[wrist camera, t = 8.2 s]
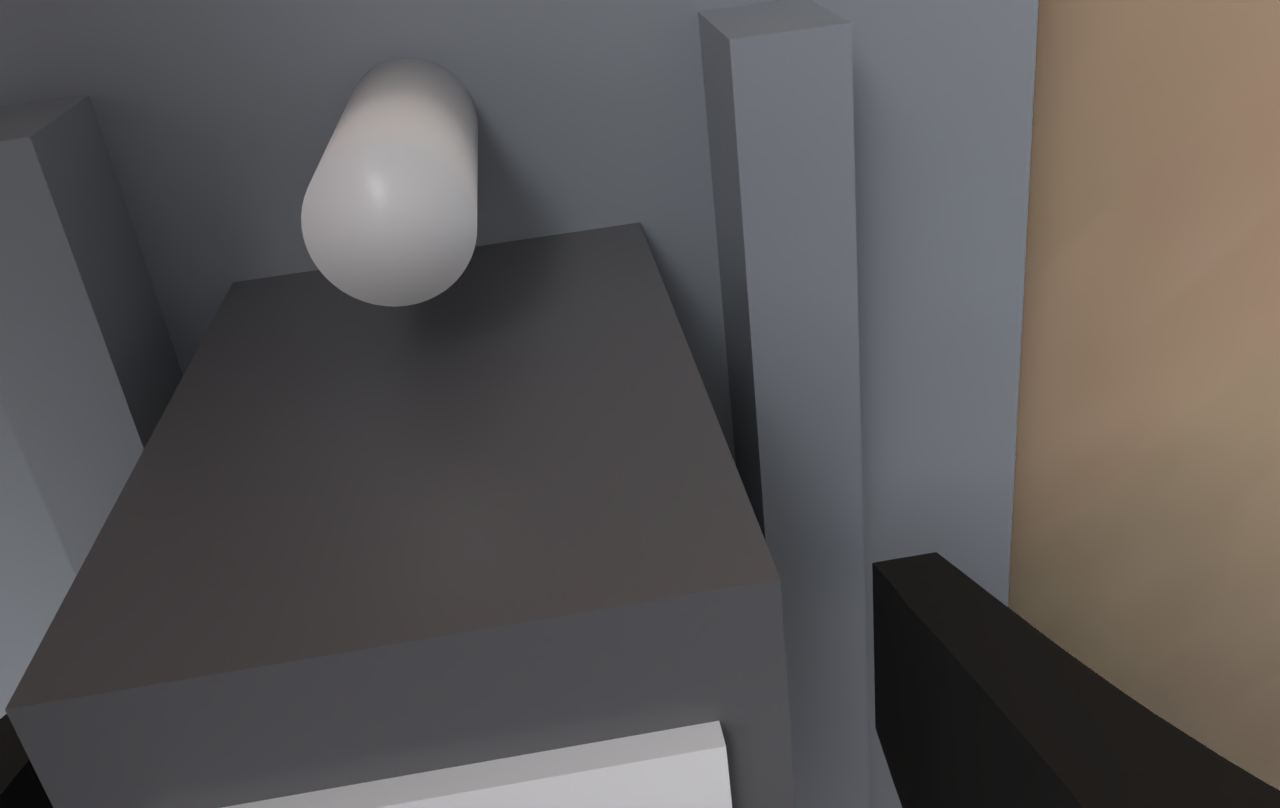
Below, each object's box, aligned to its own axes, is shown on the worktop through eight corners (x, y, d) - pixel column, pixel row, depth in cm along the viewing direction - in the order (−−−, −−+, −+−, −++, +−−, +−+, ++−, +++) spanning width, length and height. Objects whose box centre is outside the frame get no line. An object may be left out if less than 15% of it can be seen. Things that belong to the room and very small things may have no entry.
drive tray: (961, 860, 18) (1086, 1130, 14) (195, 1001, 17) (116, 1324, 14) (998, -336, 11) (1280, -420, 7) (-350, -173, 10) (-853, -169, 6)
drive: (699, 743, 15) (833, 1302, 9) (387, 799, 14) (331, 1405, 9) (640, 221, 11) (791, 604, 6) (232, 282, 11) (-10, 739, 6)
